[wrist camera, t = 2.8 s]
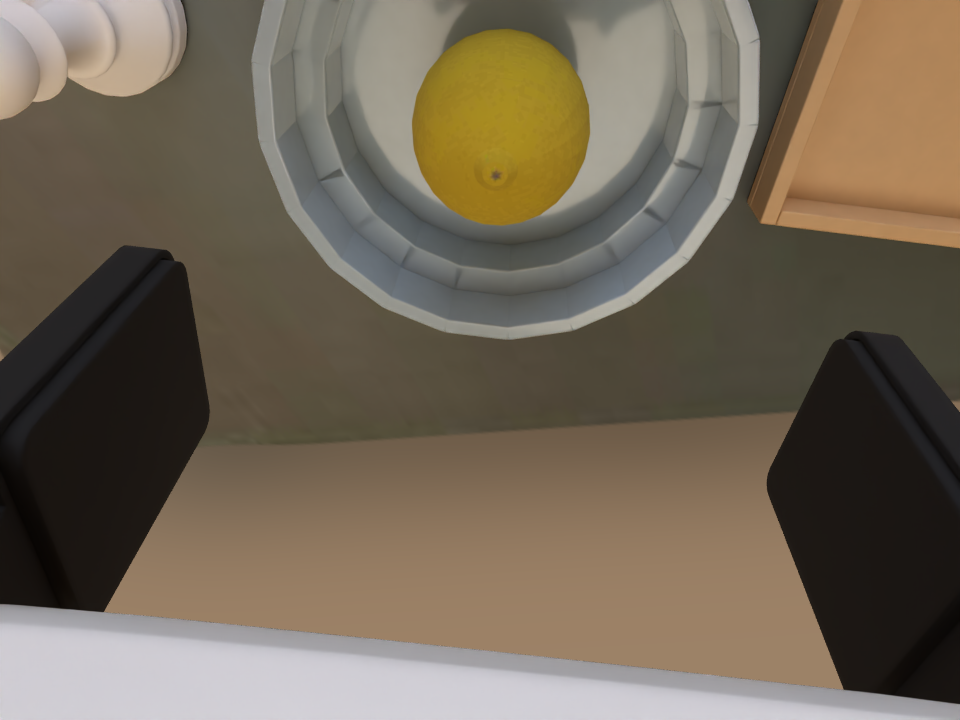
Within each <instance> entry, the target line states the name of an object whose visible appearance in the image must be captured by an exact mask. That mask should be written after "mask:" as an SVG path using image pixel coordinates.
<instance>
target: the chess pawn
mask: <svg viewBox="0 0 960 720" xmlns="http://www.w3.org/2000/svg"><path fill="white" fill-rule="evenodd" d="M186 39H187V25H186V19H185V13H184V8H183V6H182V3H181V1H180V0H0V119H5V118H10V117H13V116H15V115H17V114H18V113H20V112H21V111H23V110H24V109H26V108H27V107H28V106H29V105H30V104H31V102H40V101H45V100H50V99H51V98H53V97H54V96H56V95H58V94H59V93H60V91H61V90H62V88H63V87H64V86H65V83H66V79H67V77H68V78H70V79H71V80H73V81H75V82H76V83H78V84H80V85H81V86H83V87H85V88H87V89H89V90H92V91H95V92H98V93H101V94H104V95H109V96H121V97H126V96H131V95H136V94H140V93H143V92H144V91H146V90H148V89H149V88H151V87H153V86H154V85H156V84H157V83H159V82H161V81H162V80H164V79H166V78H167V77H169V76H170V75H171V74H172V73H173V71H174V70H175V69H176V68H177V67H178V65H179V64H180V62H181V59H182V57H183V54H184V51H185V49H186Z"/></svg>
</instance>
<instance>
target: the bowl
mask: <svg viewBox="0 0 960 720" xmlns="http://www.w3.org/2000/svg"><path fill="white" fill-rule="evenodd" d="M494 29H514V30H518V31H523V32H528V33H532V34H533V35H535V36H537V37H539V38H541V39H543V40H545V41H547V42H549V43H550V44H552V45H553V46H554V47H555V48H556V49H557V50H558V51H559V52H560V53H561V54H563V55H564V56H565V57H566V58H567V59H568V60H569V62H570V63H571V65H572V67H573V68H574V70H575V71H576V73H577V75H578V76H579V78H580V79H581V81H582V84H583V87H584V91H585V94H586V97H587V101H588V104H589V114H590V137H589V142H588V147H587V152H586V156H585V160H584V163H583V165H582V167H581V169H580V171H579V173H578V175H577V177H576V179H575V181H574V183H573V184H572V186H571V187H570V188H569V189H568V190H567V192H566V193H565V194H564V195H563V196H562V197H561V199H560V200H559V201H558V202H557V203H556V204H555V205H553V206H552V207H550V208H549V209H548V210H546V211H545V212H544V213H542V214H541V215H539V216H536V217H534V218H531V219H529V220H526V221H524V222H521V223H516V224H510V225H503V226H500V225H487V224H481V223H478V222H475V221H472V220H469V219H466V218H464V217H462V216H461V215H459V214H457V213H456V212H454V211H452V210H451V209H449V208H448V207H447V206H446V205H445V204H444V203H443V202H442V201H441V200H440V199H439V198H438V197H437V196H436V195H435V194H434V193H433V192H432V190H431V189H430V187H429V185H428V184H427V182H426V181H425V179H424V177H423V176H422V174H421V171H420V168H419V165H418V162H417V158H416V155H415V152H414V147H413V134H412V117H413V112H414V107H415V101H416V96H417V93H418V91H419V89H420V87H421V85H422V83H423V81H424V78H425V76H426V74H427V72H428V71H429V69H430V68H431V67H432V66H433V64H434V63H435V62H436V61H437V60H438V58H439V57H440V56H441V55H442V54H443V52H445V51H446V50H447V49H449V48H450V47H452V46H453V45H454V44H456V43H457V42H459V41H460V40H462V39H463V38H464V37H467V36H470V35H473V34H476V33H479V32H482V31H485V30H494ZM759 38H760V35H759V32H758V29H757V26H756V23H755V20H754V17H753V13H752V10H751V7H750V4H749V1H748V0H264V4H263V9H262V13H261V18H260V22H259V27H258V31H257V36H256V40H255V45H254V49H253V54H252V58H251V61H252V63H251V66H252V77H253V88H254V99H255V110H256V121H257V132H258V140H259V141H260V142H259V144H260V147H261V149H262V152H263V154H264V157H265V159H266V162H267V164H268V167H269V169H270V172H271V174H272V177H273V179H274V182H275V184H276V187H277V189H278V192H279V194H280V197H281V199H282V202H283V204H284V207H285V209H286V211H287V213H288V215H289V216H290V217H291V218H292V220H293V221H294V222H295V224H296V225H297V226H298V227H299V229H300V230H301V231H302V233H303V234H304V235H305V236H306V238H307V239H308V240H309V242H310V243H311V244H312V245H313V247H314V248H315V249H316V251H317V252H318V253H319V255H320V256H321V257H322V258H323V260H324V261H325V262H326V264H327V265H328V266H329V267H330V268H331V269H332V270H333V271H335V272H336V273H337V274H339V275H340V276H341V277H343V278H344V279H345V280H347V281H348V282H349V283H351V284H352V285H353V286H355V287H356V288H357V289H359V290H360V291H361V292H363V293H364V294H365V295H367V296H368V297H369V298H371V299H372V300H373V301H375V302H376V303H377V304H379V305H380V306H381V307H383V308H385V309H387V310H390V311H392V312H395V313H397V314H400V315H402V316H405V317H407V318H410V319H412V320H415V321H417V322H420V323H422V324H425V325H427V326H430V327H432V328H435V329H437V330H440V331H442V332H444V331H445V332H447V333H455V334H463V335H471V336H480V337H488V338H496V339H504V340H508V339H509V340H512V339H519V338H526V337H533V336H541V335H548V334H555V333H562V332H569V331H572V330H576V329H579V328H581V327H583V326H586V325H588V324H590V323H593V322H595V321H597V320H600V319H602V318H604V317H607V316H609V315H611V314H614V313H616V312H619V311H621V310H623V309H626V308H628V307H630V306H633V305H634V304H636V303H637V302H639V301H640V300H641V299H642V298H644V297H645V296H646V295H648V294H649V293H650V292H651V291H653V290H654V289H655V288H656V287H658V286H659V285H660V284H661V283H663V282H664V281H665V280H666V279H668V278H669V277H670V276H671V275H673V274H674V273H675V272H676V271H678V270H679V269H680V268H681V267H683V266H684V265H685V264H687V263H688V262H689V260H690V259H691V258H692V257H693V255H694V254H695V252H696V251H697V250H698V248H699V247H700V245H701V244H702V243H703V241H704V240H705V238H706V237H707V236H708V234H709V233H710V231H711V230H712V229H713V227H714V226H715V224H716V223H717V222H718V220H719V219H720V217H721V216H722V215H723V213H724V212H725V210H726V209H727V208H728V206H729V205H730V203H731V202H732V200H733V198H734V196H735V193H736V190H737V187H738V184H739V181H740V178H741V175H742V172H743V169H744V166H745V163H746V160H747V157H748V154H749V152H750V149H751V146H752V143H753V140H754V137H755V134H756V131H757V128H758V122H759V85H760V39H759Z"/></svg>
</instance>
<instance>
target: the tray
mask: <svg viewBox="0 0 960 720" xmlns="http://www.w3.org/2000/svg"><path fill="white" fill-rule="evenodd" d="M747 203H748V205H749V206H750V207H751V209H752V211H753V212H754V214H755V216H756V217H757V219H758V220H759V222H760V223H762V224H770V225H775V224H776V225H777V226H785V227H793V228H801V229H810V230H818V231H826V232H834V233H842V234H850V235H858V236H866V237H875V238H883V239H891V240H899V241H907V242H915V243H923V244H931V245H940V246H948V247H956V248H960V0H818V3H817V6H816V9H815V12H814V14H813V17H812V20H811V23H810V26H809V29H808V31H807V34H806V37H805V40H804V43H803V45H802V48H801V51H800V54H799V57H798V59H797V62H796V65H795V68H794V71H793V74H792V76H791V79H790V82H789V85H788V88H787V90H786V93H785V96H784V99H783V102H782V105H781V107H780V110H779V113H778V116H777V119H776V121H775V124H774V127H773V130H772V133H771V136H770V138H769V141H768V144H767V147H766V150H765V152H764V155H763V158H762V161H761V164H760V167H759V169H758V172H757V175H756V178H755V181H754V183H753V186H752V189H751V192H750V195H749V198H748V200H747Z"/></svg>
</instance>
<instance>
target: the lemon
mask: <svg viewBox="0 0 960 720" xmlns="http://www.w3.org/2000/svg"><path fill="white" fill-rule="evenodd" d="M412 134H413V147H414V152H415V155H416V158H417V162H418V165H419V168H420V171H421V174H422V176H423V177H424V179H425V181H426V182H427V184H428V185H429V187H430V189H431V190H432V192H433V193H434V194H435V195H436V196H437V197H438V198H439V199H440V200H441V201H442V202H443V203H444V204H445V205H446V206H447V207H448V208H449V209H451V210H452V211H454V212H456V213H457V214H459V215H461V216H462V217H464V218H466V219H469V220H472V221H475V222H478V223H481V224H487V225H500V226H503V225H510V224H516V223H521V222H524V221H526V220H529V219H531V218H534V217H536V216H539V215H541V214H542V213H544V212H545V211H546V210H548V209H549V208H550V207H552V206H553V205H555V204H556V203H557V202H558V201H559V200H560V199H561V197H562V196H563V195H564V194H565V193H566V192H567V190H568V189H569V188H570V187H571V186H572V184H573V183H574V181H575V179H576V177H577V175H578V173H579V171H580V169H581V167H582V165H583V163H584V160H585V156H586V152H587V147H588V142H589V137H590V114H589V104H588V101H587V97H586V94H585V91H584V87H583V84H582V81H581V79H580V78H579V76H578V75H577V73H576V71H575V70H574V68H573V67H572V65H571V63H570V62H569V60H568V59H567V58H566V57H565V56H564V55H563V54H561V53H560V52H559V51H558V50H557V49H556V48H555V47H554V46H553V45H552V44H550V43H549V42H547V41H545V40H543V39H541V38H539V37H537V36H535V35H533V34H532V33H528V32H523V31H518V30H514V29H494V30H485V31H482V32H479V33H476V34H473V35H470V36H467V37H464V38H463V39H462V40H460V41H459V42H457V43H456V44H454V45H453V46H452V47H450V48H449V49H447V50H446V51H445V52H443V54H442V55H441V56H440V57H439V58H438V60H437V61H436V62H435V63H434V64H433V66H432V67H431V68H430V69H429V71H428V72H427V74H426V76H425V78H424V81H423V83H422V85H421V87H420V89H419V91H418V93H417V96H416V101H415V107H414V112H413V117H412Z"/></svg>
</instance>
